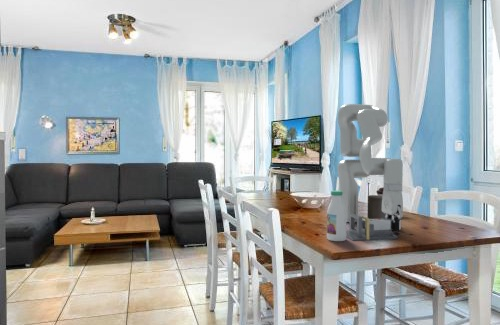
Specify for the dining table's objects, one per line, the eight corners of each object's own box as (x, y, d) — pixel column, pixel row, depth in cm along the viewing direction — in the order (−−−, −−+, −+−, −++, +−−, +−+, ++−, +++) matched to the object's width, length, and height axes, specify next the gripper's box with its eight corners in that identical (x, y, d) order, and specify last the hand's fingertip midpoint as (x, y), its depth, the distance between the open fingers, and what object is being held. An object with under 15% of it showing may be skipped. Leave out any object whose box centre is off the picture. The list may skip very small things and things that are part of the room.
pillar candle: (365, 224, 181) (366, 194, 181) (369, 220, 190) (369, 192, 189) (386, 226, 177) (387, 195, 176) (389, 222, 186) (389, 193, 185)
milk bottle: (343, 237, 155) (343, 189, 154) (348, 241, 147) (348, 191, 147) (324, 237, 155) (325, 189, 154) (329, 241, 147) (329, 192, 146)
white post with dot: (365, 228, 158) (365, 218, 158) (395, 227, 160) (395, 217, 160) (369, 230, 154) (369, 220, 154) (400, 229, 156) (400, 219, 156)
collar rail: (341, 233, 161) (341, 212, 161) (383, 232, 164) (383, 211, 163) (352, 240, 149) (352, 218, 149) (397, 238, 152) (398, 216, 151)
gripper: (375, 186, 165) (374, 226, 166) (395, 190, 148) (394, 235, 149) (390, 185, 166) (390, 226, 167) (412, 189, 149) (411, 234, 150)
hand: (392, 229), depth 158 cm, fingers closed on white post with dot, 4 cm apart
